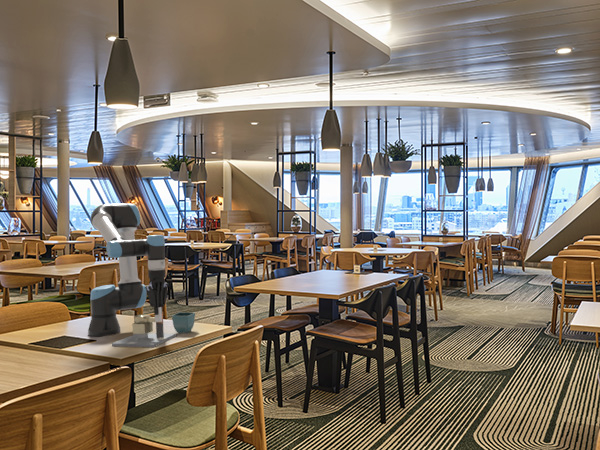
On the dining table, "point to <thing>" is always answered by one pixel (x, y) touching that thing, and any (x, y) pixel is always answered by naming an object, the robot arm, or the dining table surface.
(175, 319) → the flower pot
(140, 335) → the grey flat base fixture
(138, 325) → the beige stepped block
